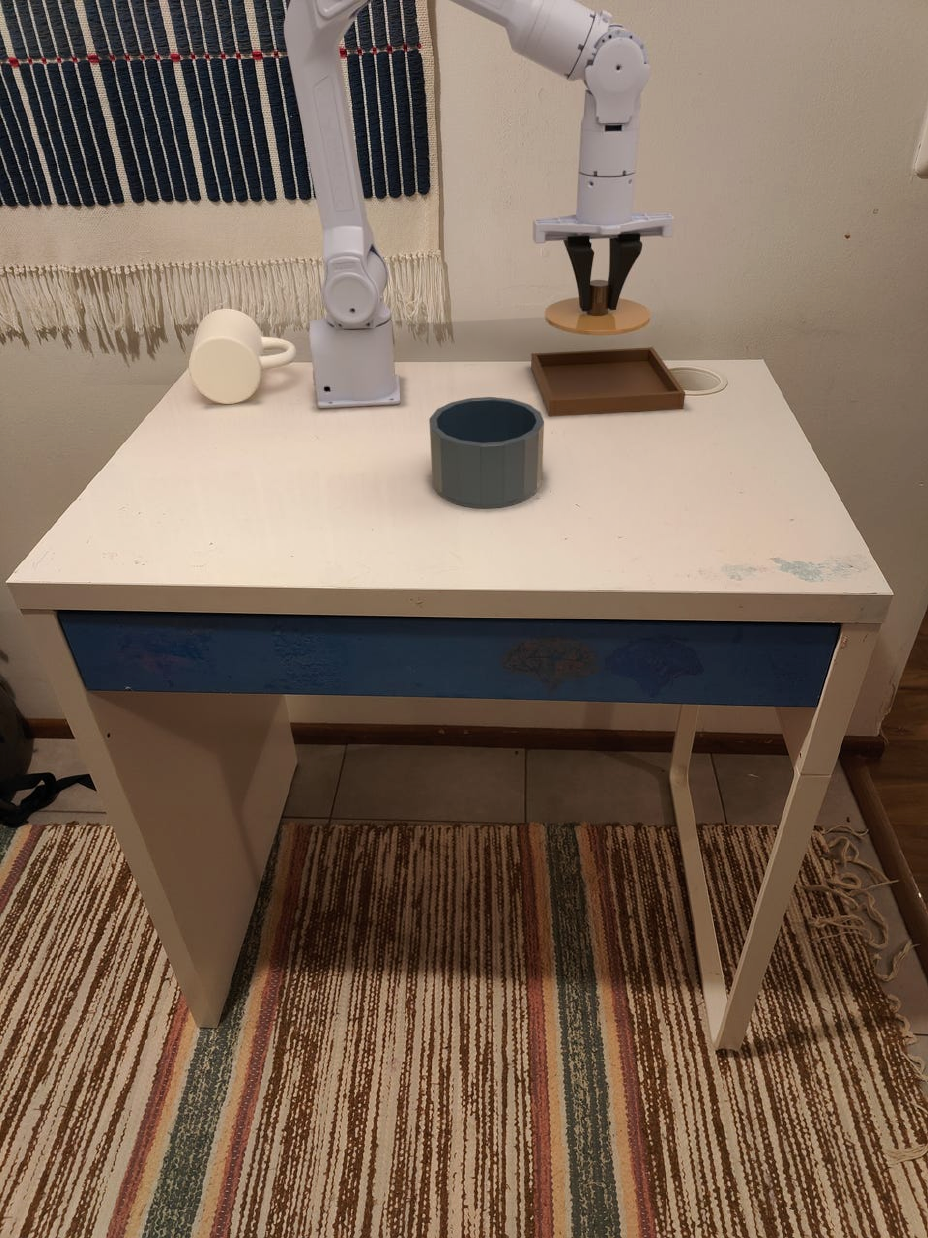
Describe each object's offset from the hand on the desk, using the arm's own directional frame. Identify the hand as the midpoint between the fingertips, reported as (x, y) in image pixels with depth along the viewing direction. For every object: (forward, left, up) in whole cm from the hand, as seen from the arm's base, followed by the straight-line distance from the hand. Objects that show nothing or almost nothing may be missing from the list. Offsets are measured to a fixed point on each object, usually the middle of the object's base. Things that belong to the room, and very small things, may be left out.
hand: (597, 307), depth 95 cm
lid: (0, 0, -1) cm, 1 cm away
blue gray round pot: (-14, -20, -10) cm, 27 cm away
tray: (+2, +1, -10) cm, 10 cm away
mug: (-40, +7, -10) cm, 42 cm away
